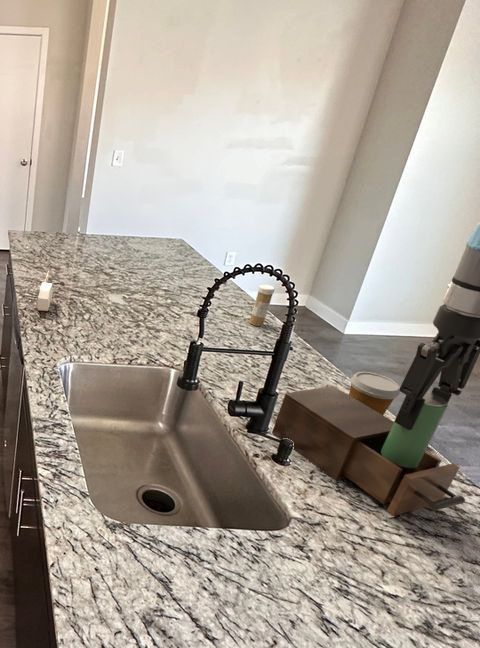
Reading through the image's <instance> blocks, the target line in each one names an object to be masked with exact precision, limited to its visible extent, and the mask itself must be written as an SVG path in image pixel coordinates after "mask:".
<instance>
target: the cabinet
mask: <svg viewBox="0 0 480 648" xmlns="http://www.w3.org/2000/svg"><path fill="white" fill-rule="evenodd" d="M394 421H395V420H394ZM394 421H393V420H392V419H391V418H389V417H387V416H386V415H382V414H380V413H378V412H377V411H375V410H373V409H371V408H370V407H368V406H366V405H365V404H363V403H361V402H359V401H358V400H356V399H354V398H353V397H351V396H349V394H347V393H346V392H344V391H342V390H340V389H339V388H337V387H335V386H334V385H328V386H323V387H316V388H309V389H305V390H304V389H303V390H298V391H292V392H285V394H284V397H283V399H282V403H281V406H280V408H279V411H278V414H277V417H276V420H275V422H274V423H275V424H274V425H273V429H272V431H271V433H272V434H273V435H274V436H276V437H277V438H278V439H280V440H281V439H283V438H288V439H290V440H292V441H293V442H294V449H293V450H294V451H295V452H297V453H298V454H299V455H301V456H302V457H304V459H306V460H307V461H309V462H310V463H311V464H312V465H314V466H315V467H317V469H319V470H321V471H322V472H323V473H324V474H326V475H327V476H328V477H329V478H331V479H332V480H334V481H335V482H337V481H340V480H344V479H348V478H347V477H345V476H344V475H343V474H342V471H343V469H344V467H345V464H346V462H347V460H348V457H349V455H350V453H351V451H352V448H353V446H354V444H355V441H358V440H363V439H368V438H373V437H378V436H383V435H388V434H389V432H390V430H391V428H392V425H393V423H394Z"/></svg>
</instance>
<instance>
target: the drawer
mask: <svg viewBox="0 0 480 648" xmlns="http://www.w3.org/2000/svg"><path fill="white" fill-rule="evenodd" d="M387 437H388V435H383V436H378V437H373V438H368V439H363V440H358V441H355V444H354V446H353V448H352V451H351V453H350V455H349V457H348V460H347V462H346V464H345V467H344V469H343V471H342V474H343V475H344V476H345V477H347V478H346V479H348V480H349V481H351V482H352V483H354V484H355V485H356V486H358V487H359V488H360V489H362V490H363V491H364V492H366V493H367V494H368V495H370V496H372V497H373V498H374V499H375V500H377V501H378V502H379V503H380V504H383V505H385V504H388V503H389V505H388V508H387V510H386V512H387V514H389V515H390V516H392V517H395V516H398V515H401V514H405V513H409V512H413V511H417V510H420V509H425V508H430V509H431V510H432V511H438V510H443V509H446V508H450V507H454V506H457V505H462V504H465V502H466V498H465V497H464V496H462V495H459V494H458V495H456V494H454V492H452V491H451V490H449V488H450V487H451V485H452V482H453V481H454V479H455V477H456V475H457V473H458V472H459V470H460V466H458V465H457V464H455V463H449V464H444V465H441V466H440V464H441V463H442V459H440V458H438V457H437V456H435V455H434V454H432V453H430V452H428V451H427V450H426V451H425V453H424V455H423V457H422V459H421V461H420V463H419V465H418V466H417V467H415V468H406V467H402V466H399V465H396V464H394V463H392V462H391V461H389V460H388V459H386V458H384V457H383V456H382V454H381V450H382V448H383V445H384V443H385V441H386V439H387ZM445 495H446V496H449V497H446V498H444V497H445Z"/></svg>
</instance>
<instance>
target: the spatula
mask: <svg viewBox="0 0 480 648" xmlns="http://www.w3.org/2000/svg"><path fill="white" fill-rule="evenodd" d="M49 275H50V270H48V271H47V274H46V276H45V279H44V281H43V282H41V284H40V287H39V292H38V297H37V303H36V306H37V311H43V312H48V311H49V309H50V306H51V305H50V304H51V302H52V299H53V282H48V281H49V277H50V276H49Z"/></svg>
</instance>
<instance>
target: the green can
mask: <svg viewBox="0 0 480 648" xmlns="http://www.w3.org/2000/svg"><path fill="white" fill-rule="evenodd" d="M405 397H406V395H405V396H404V398H405ZM423 399H425V402H424V404H423V406H422V408H421V411H420V413H419V415H418V417H417V419H416V421H415V423H414V426H413V428H412V430H408V429H406V428H404V427H402V426H401V425H399V424H397V423H395V422H394V423H393V425H392V428H391V430H390V432H389V434H388V437H387V439H386V441H385V443H384V445H383V448H382V450H381V454H382V456H383V457H384V458H386V459H388V460H389V461H391V462H392V463H394V464H396V465H399V466H402V467H406V468H415V467H417V466H418V465H419V463H420V461H421V459H422V457H423V455H424V453H425V451H427V449H428V447H429V445H430V443H431V441H432V439H433V437H434V436H435V433H436V431H437V429H438V427H439V425H440V422H441V421H442V418H443V417H444V414H445V412H446V410H447V409H448V406H449V405H448V404H449V403H448V404H447V402H446V400H445V399H444V398H442V397H441V396H439V395H437V394H435V393H432V391H429V390H428V391H427V392H426V394H425V395H424V397H423ZM402 404H403V402H401V406H402ZM401 406H400V407H399V409H400V408H401ZM398 413H399V411H398V412H397V414H396V416H395V418H396V417H397V415H398Z"/></svg>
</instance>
